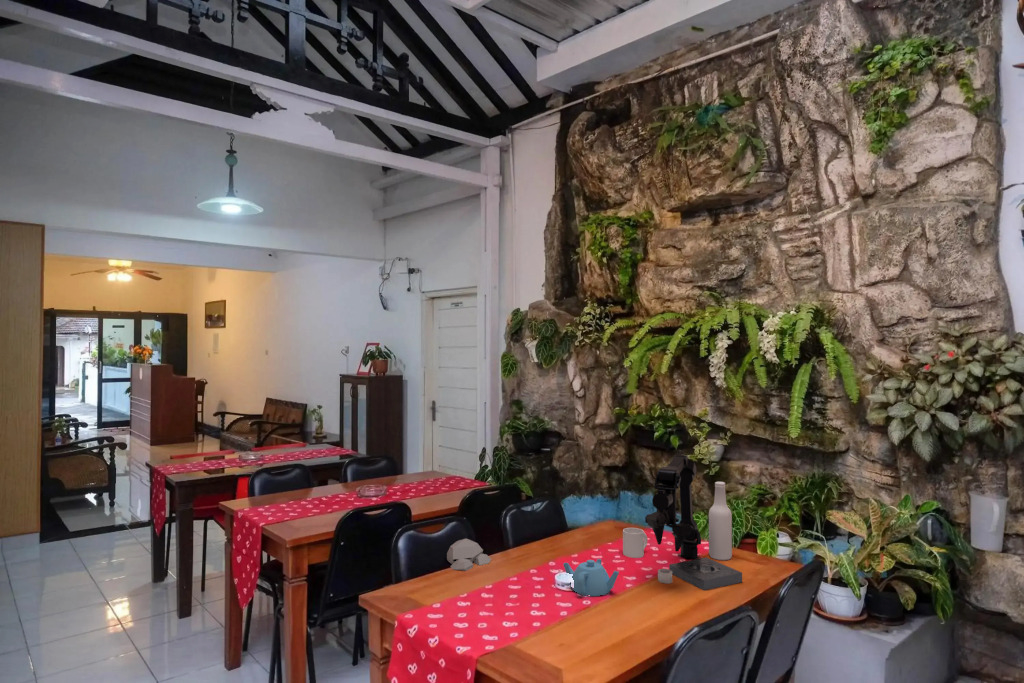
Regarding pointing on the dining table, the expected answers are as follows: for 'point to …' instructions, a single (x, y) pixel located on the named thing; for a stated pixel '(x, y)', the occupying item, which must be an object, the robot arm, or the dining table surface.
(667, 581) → the cap
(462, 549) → the rock
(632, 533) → the mug
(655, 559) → the dining table surface
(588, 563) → the teapot
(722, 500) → the alcohol
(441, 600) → the dining table surface
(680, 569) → the dark grey square base
